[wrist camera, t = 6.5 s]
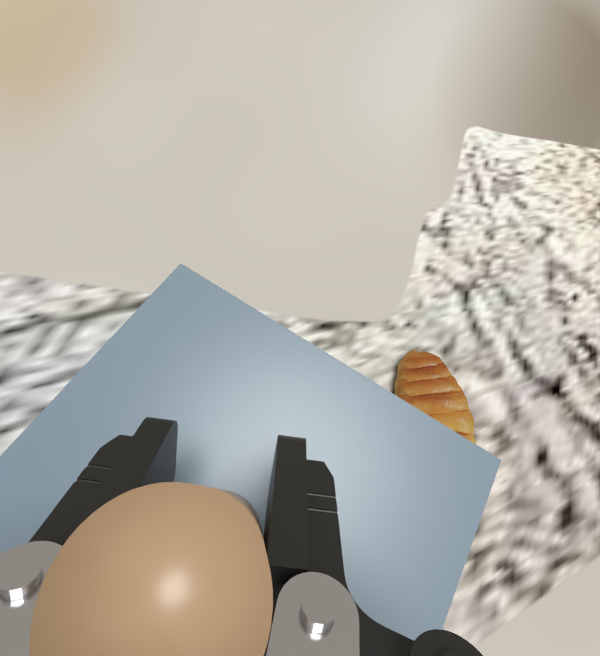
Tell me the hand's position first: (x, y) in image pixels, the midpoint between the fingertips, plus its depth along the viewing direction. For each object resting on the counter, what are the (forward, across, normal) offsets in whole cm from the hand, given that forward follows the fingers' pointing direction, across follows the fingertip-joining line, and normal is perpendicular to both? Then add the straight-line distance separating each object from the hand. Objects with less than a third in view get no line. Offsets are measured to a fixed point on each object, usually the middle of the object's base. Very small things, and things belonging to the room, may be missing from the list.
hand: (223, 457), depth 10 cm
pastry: (+21, -15, +11) cm, 28 cm away
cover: (+6, 0, +9) cm, 11 cm away
